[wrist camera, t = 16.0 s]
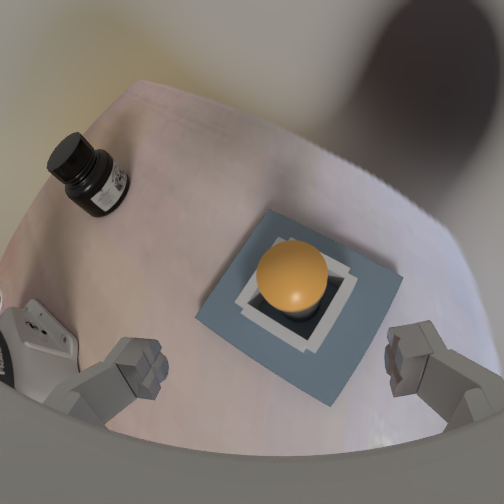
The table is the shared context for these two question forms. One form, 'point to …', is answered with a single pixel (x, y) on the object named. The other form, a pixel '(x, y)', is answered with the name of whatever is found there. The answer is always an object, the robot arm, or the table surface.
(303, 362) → the mount
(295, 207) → the table surface
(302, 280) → the knob
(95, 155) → the ink bottle
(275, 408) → the table surface
